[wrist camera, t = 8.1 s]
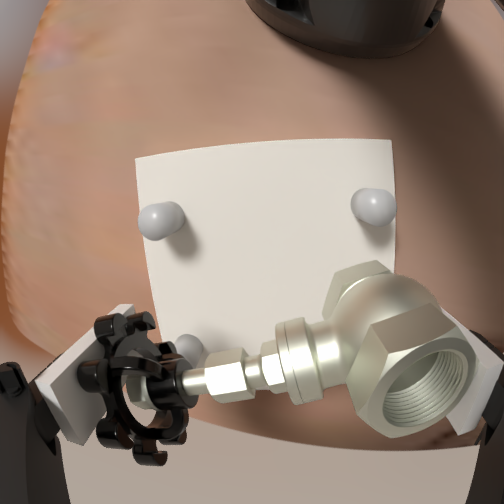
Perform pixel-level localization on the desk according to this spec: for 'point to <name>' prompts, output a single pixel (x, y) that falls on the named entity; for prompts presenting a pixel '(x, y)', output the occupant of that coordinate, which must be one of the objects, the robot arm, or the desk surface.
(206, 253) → the mounting plate
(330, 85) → the desk surface
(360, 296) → the valve
